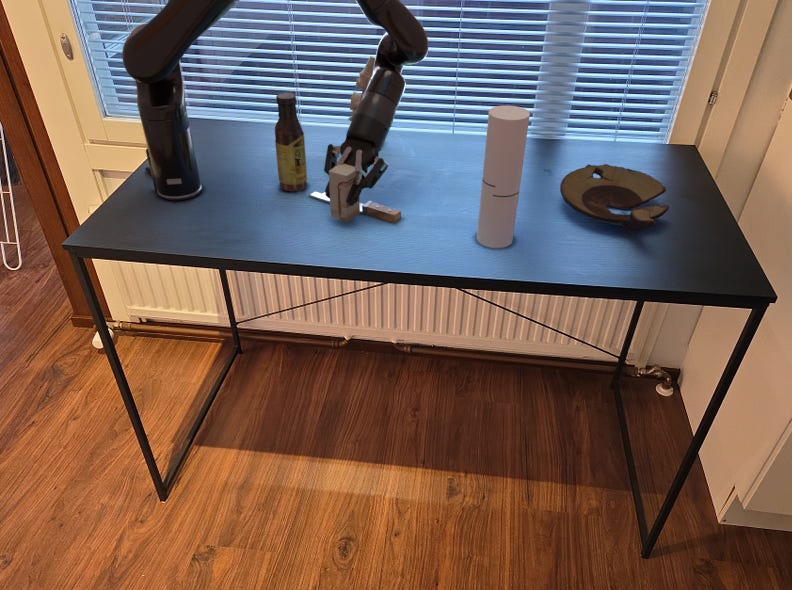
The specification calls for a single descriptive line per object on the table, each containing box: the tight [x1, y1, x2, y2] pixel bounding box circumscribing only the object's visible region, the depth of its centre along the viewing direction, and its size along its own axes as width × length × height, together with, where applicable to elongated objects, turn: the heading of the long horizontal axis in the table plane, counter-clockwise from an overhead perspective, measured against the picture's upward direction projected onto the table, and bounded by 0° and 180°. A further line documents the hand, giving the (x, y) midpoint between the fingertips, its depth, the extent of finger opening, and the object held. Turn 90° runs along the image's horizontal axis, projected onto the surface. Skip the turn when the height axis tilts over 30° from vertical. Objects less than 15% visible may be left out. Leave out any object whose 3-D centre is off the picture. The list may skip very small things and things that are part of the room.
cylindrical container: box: [476, 105, 531, 249], centre depth 124 cm, size 7×7×25 cm
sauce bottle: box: [274, 92, 308, 192], centre depth 142 cm, size 7×6×20 cm
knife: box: [309, 191, 402, 224], centre depth 141 cm, size 22×3×2 cm, turn 57°
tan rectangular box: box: [328, 164, 361, 223], centre depth 133 cm, size 5×4×10 cm
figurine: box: [347, 56, 376, 122], centre depth 162 cm, size 9×8×20 cm
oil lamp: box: [559, 163, 670, 234], centre depth 137 cm, size 22×30×8 cm
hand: (339, 200), depth 132 cm, fingers closed on tan rectangular box, 4 cm apart
